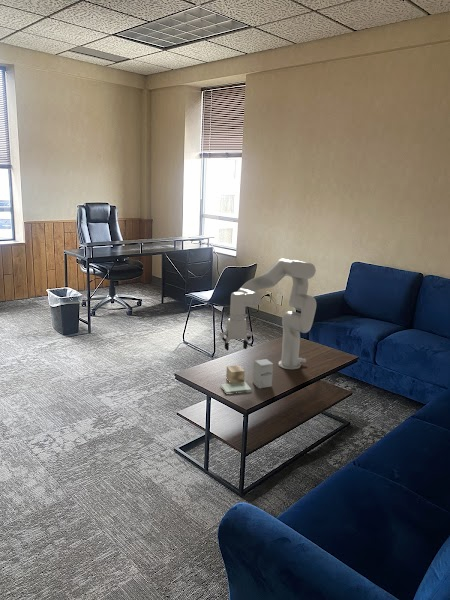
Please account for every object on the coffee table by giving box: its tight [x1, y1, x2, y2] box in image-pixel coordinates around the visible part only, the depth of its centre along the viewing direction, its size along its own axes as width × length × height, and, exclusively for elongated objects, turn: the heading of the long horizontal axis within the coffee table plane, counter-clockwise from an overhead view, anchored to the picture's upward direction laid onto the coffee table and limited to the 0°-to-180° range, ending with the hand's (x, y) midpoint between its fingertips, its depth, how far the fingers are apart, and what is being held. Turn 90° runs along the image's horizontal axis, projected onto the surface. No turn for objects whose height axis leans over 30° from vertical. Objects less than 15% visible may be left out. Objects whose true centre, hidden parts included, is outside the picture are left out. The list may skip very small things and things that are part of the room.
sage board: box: [220, 381, 252, 394], centre depth 232 cm, size 13×9×2 cm
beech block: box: [225, 364, 245, 383], centre depth 242 cm, size 7×8×7 cm
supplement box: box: [252, 358, 274, 389], centre depth 237 cm, size 7×7×13 cm
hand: (235, 349), depth 238 cm, fingers open, 9 cm apart
